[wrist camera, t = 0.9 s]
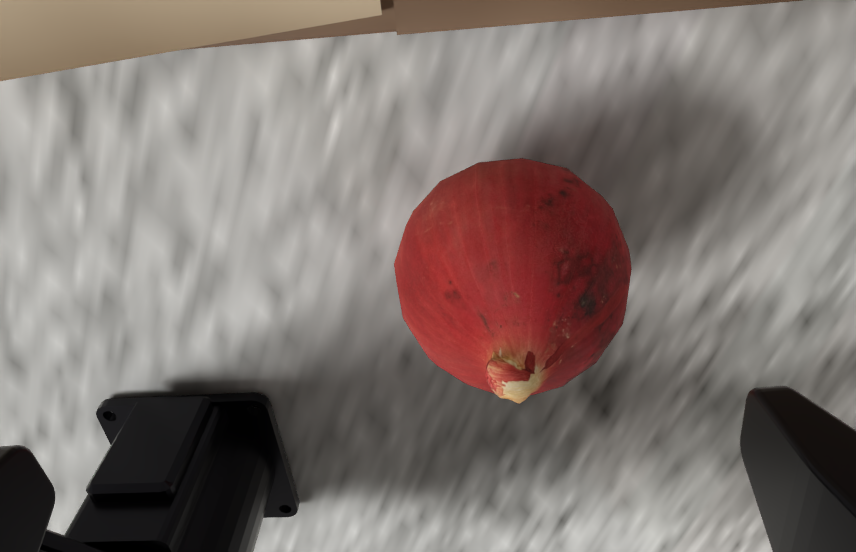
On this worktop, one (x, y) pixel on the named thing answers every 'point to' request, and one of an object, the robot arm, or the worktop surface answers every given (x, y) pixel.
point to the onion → (513, 276)
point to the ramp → (146, 27)
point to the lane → (485, 15)
